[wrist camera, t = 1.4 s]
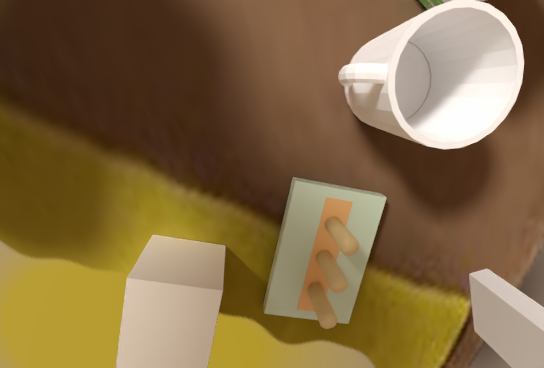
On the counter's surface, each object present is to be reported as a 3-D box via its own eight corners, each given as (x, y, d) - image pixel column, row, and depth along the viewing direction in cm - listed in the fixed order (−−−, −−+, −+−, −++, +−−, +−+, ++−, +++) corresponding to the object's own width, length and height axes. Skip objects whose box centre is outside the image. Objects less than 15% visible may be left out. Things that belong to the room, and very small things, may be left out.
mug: (440, 34, 30) (539, 5, 21) (423, 134, 33) (506, 152, 23) (320, 24, 29) (365, -12, 19) (312, 129, 31) (347, 145, 22)
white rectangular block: (202, 363, 37) (193, 435, 29) (135, 357, 36) (108, 429, 28) (225, 245, 33) (222, 290, 26) (152, 234, 32) (127, 278, 25)
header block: (263, 304, 36) (268, 349, 29) (292, 176, 32) (306, 196, 26) (343, 314, 37) (366, 359, 31) (380, 193, 34) (413, 215, 27)
